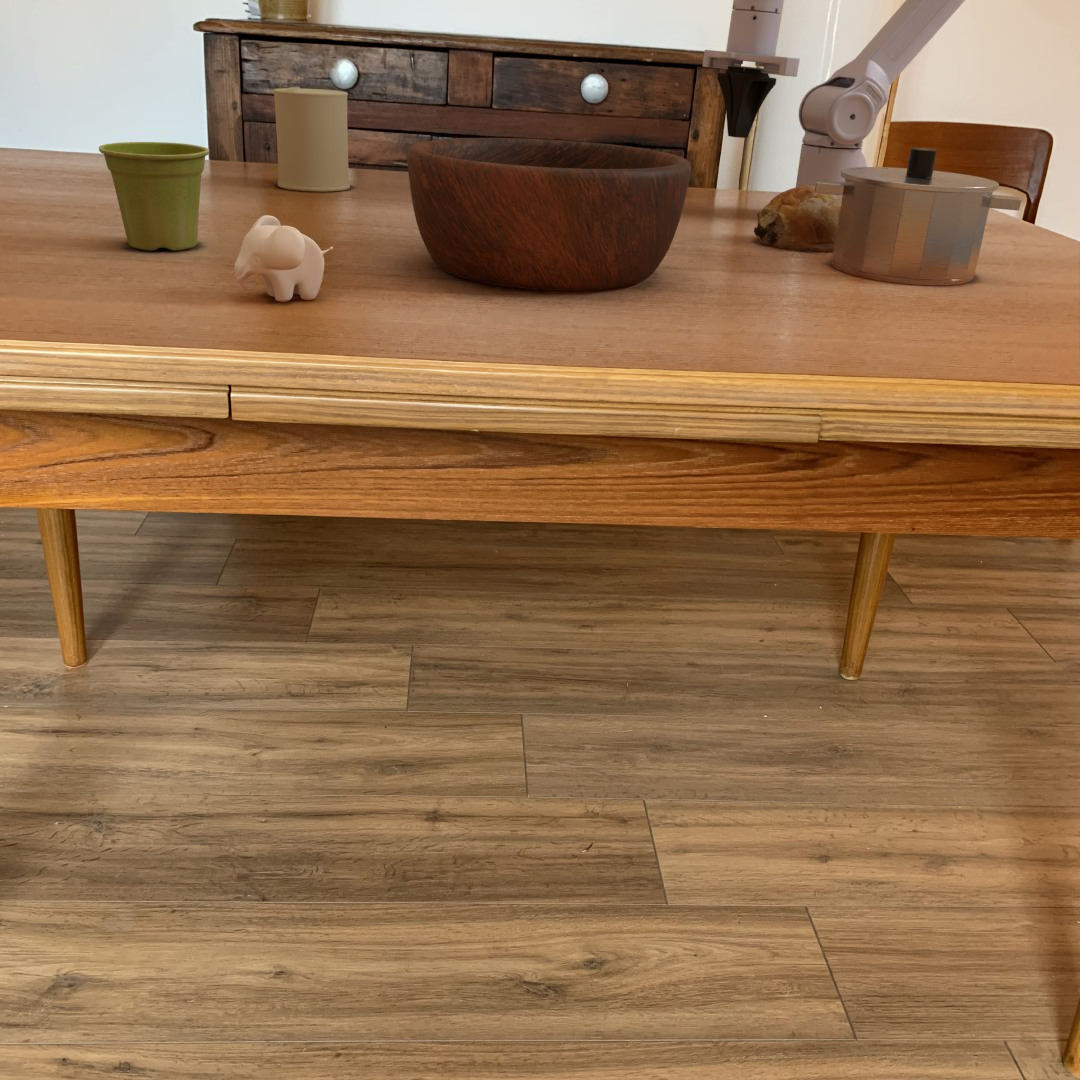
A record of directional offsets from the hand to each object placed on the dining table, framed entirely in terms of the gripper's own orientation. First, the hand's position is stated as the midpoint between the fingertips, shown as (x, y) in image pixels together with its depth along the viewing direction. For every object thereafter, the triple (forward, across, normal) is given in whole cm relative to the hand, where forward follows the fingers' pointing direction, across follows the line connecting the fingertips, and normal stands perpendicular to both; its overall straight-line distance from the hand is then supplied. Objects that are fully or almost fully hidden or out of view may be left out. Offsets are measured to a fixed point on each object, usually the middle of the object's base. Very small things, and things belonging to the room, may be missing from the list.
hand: (737, 137), depth 132 cm
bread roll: (+10, +18, -4) cm, 20 cm away
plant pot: (+12, 0, -68) cm, 69 cm away
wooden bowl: (+11, +20, -39) cm, 46 cm away
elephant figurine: (+12, +24, -65) cm, 70 cm away
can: (+11, -34, -40) cm, 54 cm away
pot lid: (+1, +32, -5) cm, 32 cm away
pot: (+9, +32, -4) cm, 33 cm away
